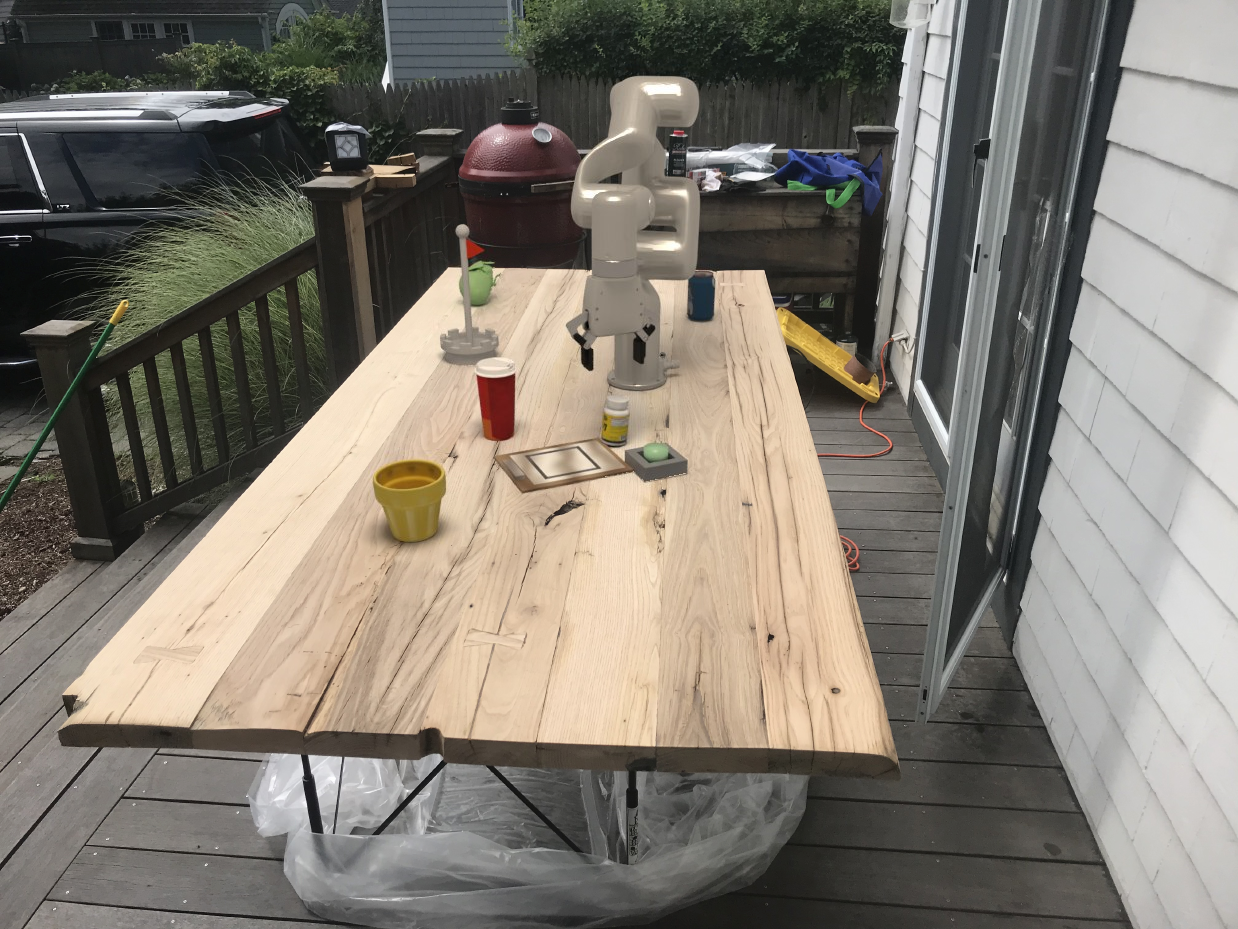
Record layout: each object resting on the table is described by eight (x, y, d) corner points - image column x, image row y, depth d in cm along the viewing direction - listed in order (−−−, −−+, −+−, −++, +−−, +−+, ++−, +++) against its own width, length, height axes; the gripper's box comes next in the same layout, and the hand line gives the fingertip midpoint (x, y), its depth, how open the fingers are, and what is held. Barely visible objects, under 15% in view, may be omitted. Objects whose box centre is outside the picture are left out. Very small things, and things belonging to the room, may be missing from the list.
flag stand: (430, 362, 213) (419, 227, 200) (460, 346, 224) (451, 216, 211) (481, 370, 208) (473, 232, 196) (509, 352, 219) (503, 221, 207)
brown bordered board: (598, 439, 174) (598, 433, 174) (633, 471, 162) (633, 465, 161) (493, 458, 167) (493, 451, 166) (522, 493, 154) (522, 486, 154)
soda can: (718, 317, 246) (720, 272, 241) (705, 324, 240) (707, 277, 235) (694, 313, 249) (696, 268, 244) (681, 320, 244) (683, 273, 239)
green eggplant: (499, 309, 252) (497, 268, 247) (457, 309, 252) (455, 268, 247) (505, 297, 263) (503, 257, 258) (465, 297, 263) (462, 257, 258)
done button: (661, 454, 165) (661, 440, 164) (672, 464, 161) (672, 450, 160) (639, 458, 163) (639, 445, 162) (650, 468, 160) (650, 454, 159)
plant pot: (416, 556, 136) (410, 495, 132) (364, 537, 141) (357, 478, 137) (463, 526, 144) (459, 468, 140) (413, 509, 149) (407, 453, 145)
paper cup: (526, 430, 178) (523, 359, 172) (509, 445, 172) (505, 372, 166) (488, 424, 180) (484, 354, 174) (470, 439, 174) (465, 367, 168)
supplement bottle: (600, 436, 175) (603, 392, 172) (625, 437, 175) (629, 394, 172) (601, 445, 170) (605, 401, 167) (627, 447, 171) (632, 403, 168)
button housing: (665, 456, 168) (666, 442, 167) (687, 473, 161) (687, 460, 160) (624, 463, 165) (624, 450, 164) (644, 482, 158) (645, 468, 157)
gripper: (650, 259, 166) (648, 353, 173) (557, 267, 159) (559, 365, 166) (670, 268, 159) (667, 365, 166) (574, 276, 153) (576, 378, 160)
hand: (613, 365), depth 166 cm, fingers open, 9 cm apart
